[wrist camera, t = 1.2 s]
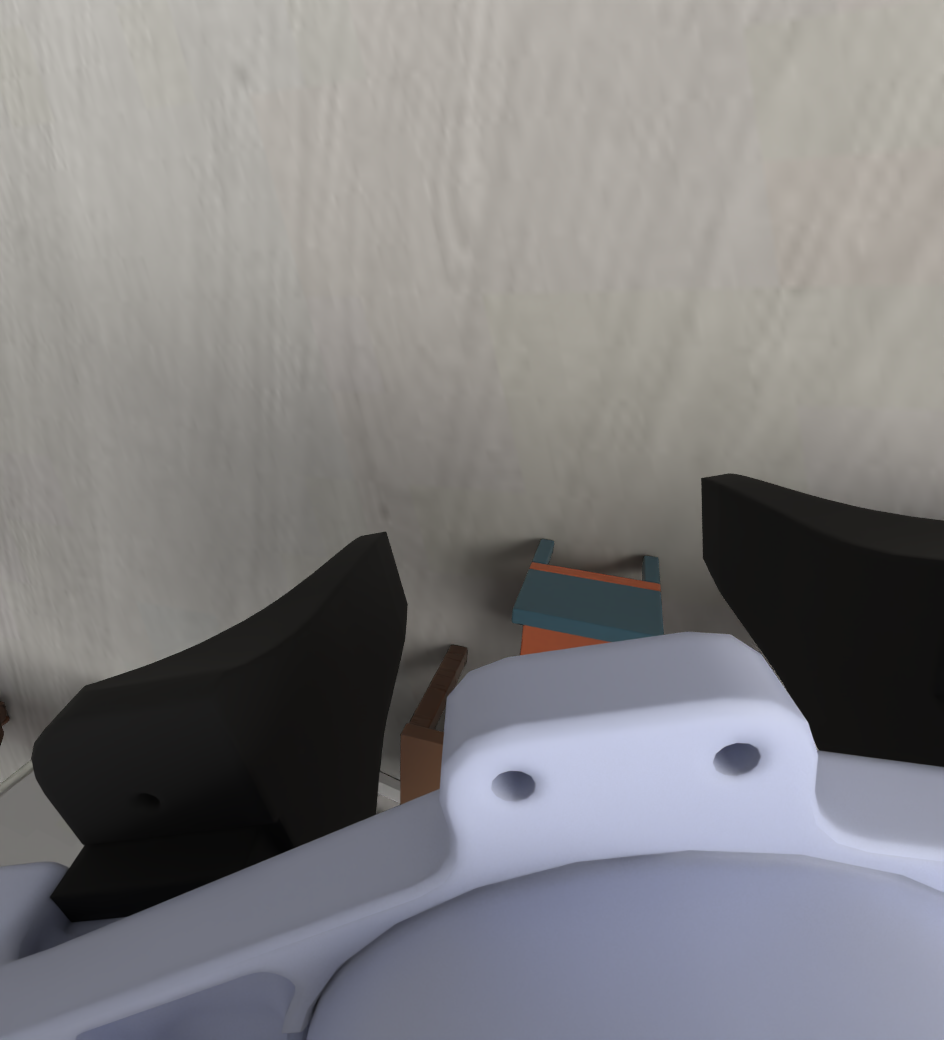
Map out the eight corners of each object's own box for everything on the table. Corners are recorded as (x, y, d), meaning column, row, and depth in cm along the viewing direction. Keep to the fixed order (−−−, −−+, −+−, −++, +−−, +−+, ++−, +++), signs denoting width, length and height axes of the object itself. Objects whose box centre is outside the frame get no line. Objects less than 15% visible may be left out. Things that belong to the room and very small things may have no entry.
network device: (509, 831, 32) (343, 1510, 14) (468, 917, 36) (296, 1540, 18) (131, 657, 35) (-387, 1026, 18) (129, 752, 39) (-298, 1136, 21)
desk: (724, 700, 25) (748, 823, 20) (684, 839, 29) (695, 979, 23) (450, 642, 28) (399, 734, 22) (443, 775, 32) (399, 885, 26)
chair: (659, 556, 24) (664, 637, 18) (640, 648, 25) (640, 747, 20) (541, 537, 25) (512, 608, 19) (531, 626, 27) (502, 714, 21)
